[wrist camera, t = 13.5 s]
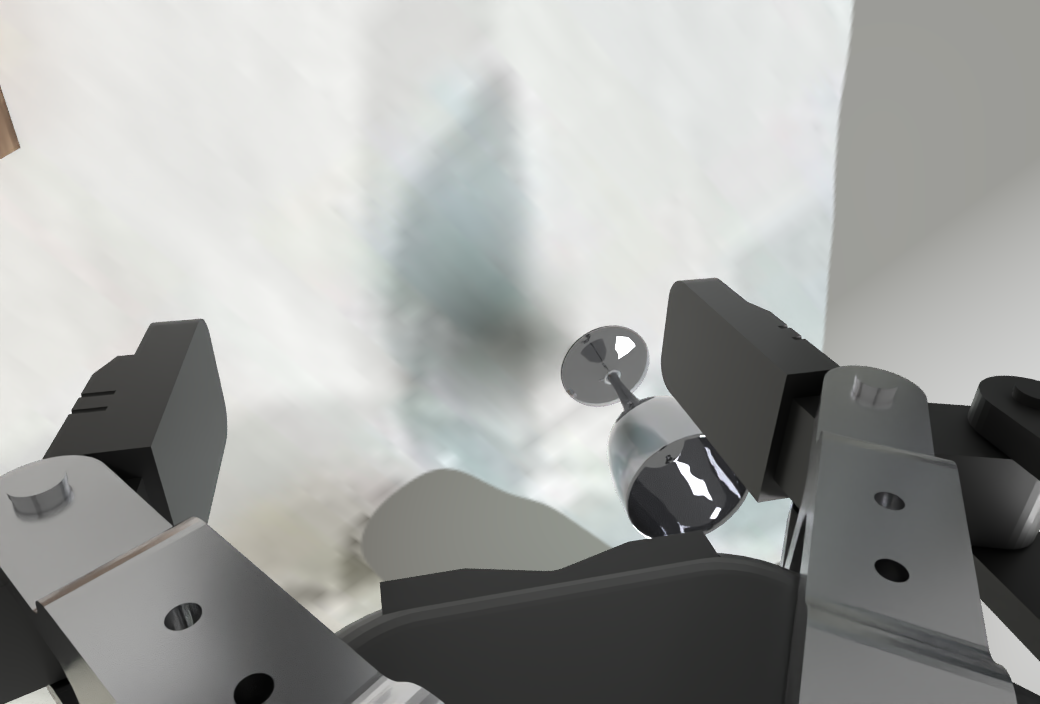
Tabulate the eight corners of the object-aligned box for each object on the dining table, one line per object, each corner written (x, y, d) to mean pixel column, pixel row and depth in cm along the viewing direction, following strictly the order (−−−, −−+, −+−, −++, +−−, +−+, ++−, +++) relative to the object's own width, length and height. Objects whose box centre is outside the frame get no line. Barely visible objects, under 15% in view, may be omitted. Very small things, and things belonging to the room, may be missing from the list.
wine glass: (666, 324, 53) (771, 436, 40) (639, 412, 57) (729, 541, 44) (568, 317, 51) (647, 434, 38) (547, 409, 54) (612, 545, 42)
